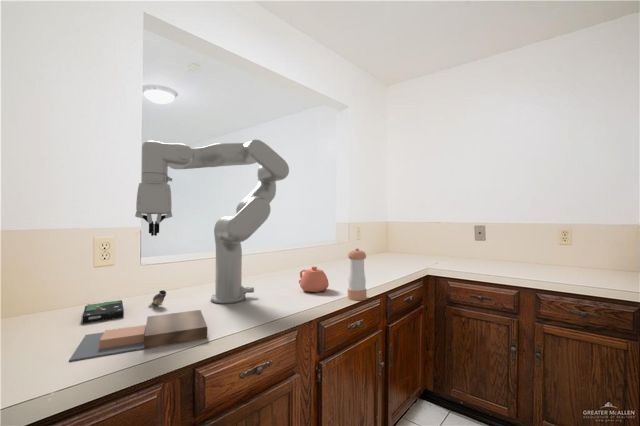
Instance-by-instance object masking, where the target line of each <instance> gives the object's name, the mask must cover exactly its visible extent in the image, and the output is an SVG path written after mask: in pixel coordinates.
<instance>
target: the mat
mask: <svg viewBox="0 0 640 426" xmlns="http://www.w3.org/2000/svg"><path fill="white" fill-rule="evenodd" d="M104 332H105V331H102V332H96V333H90V334H85V336H84V337H83V339H82V340H81V341H80V343H79V344H78V346H77V347H76V349H75V350H74V352H73V353H72V355H71V357H70V358H69V359H68V362H69V363H70V362H73V361H75V362H76V361H81V360H87V359H92V358H93V359H94V358H98V357H105V356H111V355H117V354H122V353H128V352H129V353H130V352H134V351H140V350H145V349H144V342H142V343H135V344H129V345H122V346H116V347H109V348H103V349H99V343H100V339H101V337H102V335H103V334H104Z"/></svg>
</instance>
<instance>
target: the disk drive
mask: <svg viewBox="0 0 640 426" xmlns="http://www.w3.org/2000/svg"><path fill="white" fill-rule="evenodd" d="M124 311H125V310H124V304H123V300H121V299H119V300H114V301H105V302H99V303H93V304H92V303H91V304H87V305H85V306H84V309H83V314H82V324H83V325H84V324H89V323H97V322H102V321H111V320H116V319H122V318H124V315H125V312H124Z"/></svg>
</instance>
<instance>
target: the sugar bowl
mask: <svg viewBox="0 0 640 426" xmlns="http://www.w3.org/2000/svg"><path fill="white" fill-rule="evenodd" d="M298 283H299V287H300V288H301V289H302V290H303V291H304V292H306V291H307V292H313V293H314V292H318V293H319V292H323V291H326V290H327V289H328V287H329V279H328V277H327V275H326V273H325V271H324V270H323V269H320V268H319V269H318V266H311V268H309V269H303V270H300V272H299V280H298Z"/></svg>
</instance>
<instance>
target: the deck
mask: <svg viewBox="0 0 640 426" xmlns="http://www.w3.org/2000/svg"><path fill="white" fill-rule="evenodd" d="M206 322H207V321H206V320H205V317H204V315H203V313H202V309H199V310H198V309H197V310H189V311H181V312H175V313H174V312H173V313H164V314H157V315H156V314H155V315H149V316H147V318H146V324H145V325H146V329H145V336H144V349H143V350H145V349H147V350H148V349H153V348H156V347H157V348H158V347H166V346H170V345H177V344H181V343H188V342H194V341H199V340H200V341H201V340H205V339H208V325H207V323H206Z"/></svg>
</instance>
